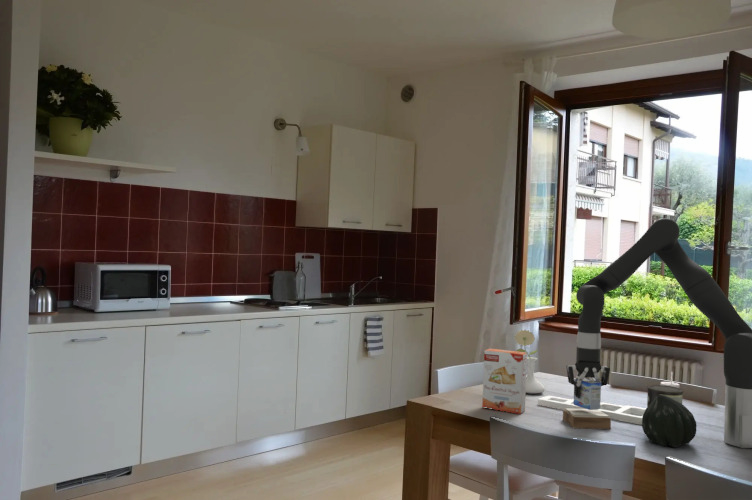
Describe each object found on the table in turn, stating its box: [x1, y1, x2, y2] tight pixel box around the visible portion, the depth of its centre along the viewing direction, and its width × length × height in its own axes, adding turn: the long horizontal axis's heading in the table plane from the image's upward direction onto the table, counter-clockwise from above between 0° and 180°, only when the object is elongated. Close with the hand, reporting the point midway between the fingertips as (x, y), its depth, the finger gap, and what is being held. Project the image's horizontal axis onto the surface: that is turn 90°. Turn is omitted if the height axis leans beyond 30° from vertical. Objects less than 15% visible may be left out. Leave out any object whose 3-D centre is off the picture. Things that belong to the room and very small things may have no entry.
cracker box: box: [481, 347, 528, 415], centre depth 221 cm, size 14×6×21 cm, turn 62°
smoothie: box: [659, 371, 680, 388], centre depth 230 cm, size 6×6×14 cm
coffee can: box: [646, 384, 684, 408], centre depth 198 cm, size 10×10×14 cm
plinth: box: [562, 408, 612, 430], centre depth 205 cm, size 10×12×4 cm
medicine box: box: [573, 378, 602, 410], centre depth 205 cm, size 8×4×9 cm, turn 24°
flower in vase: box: [514, 329, 546, 394], centre depth 253 cm, size 13×11×25 cm
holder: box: [537, 395, 647, 426], centre depth 223 cm, size 45×18×3 cm, turn 50°
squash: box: [641, 394, 698, 448], centre depth 186 cm, size 14×15×15 cm
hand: (587, 397), depth 205 cm, fingers closed on medicine box, 5 cm apart
